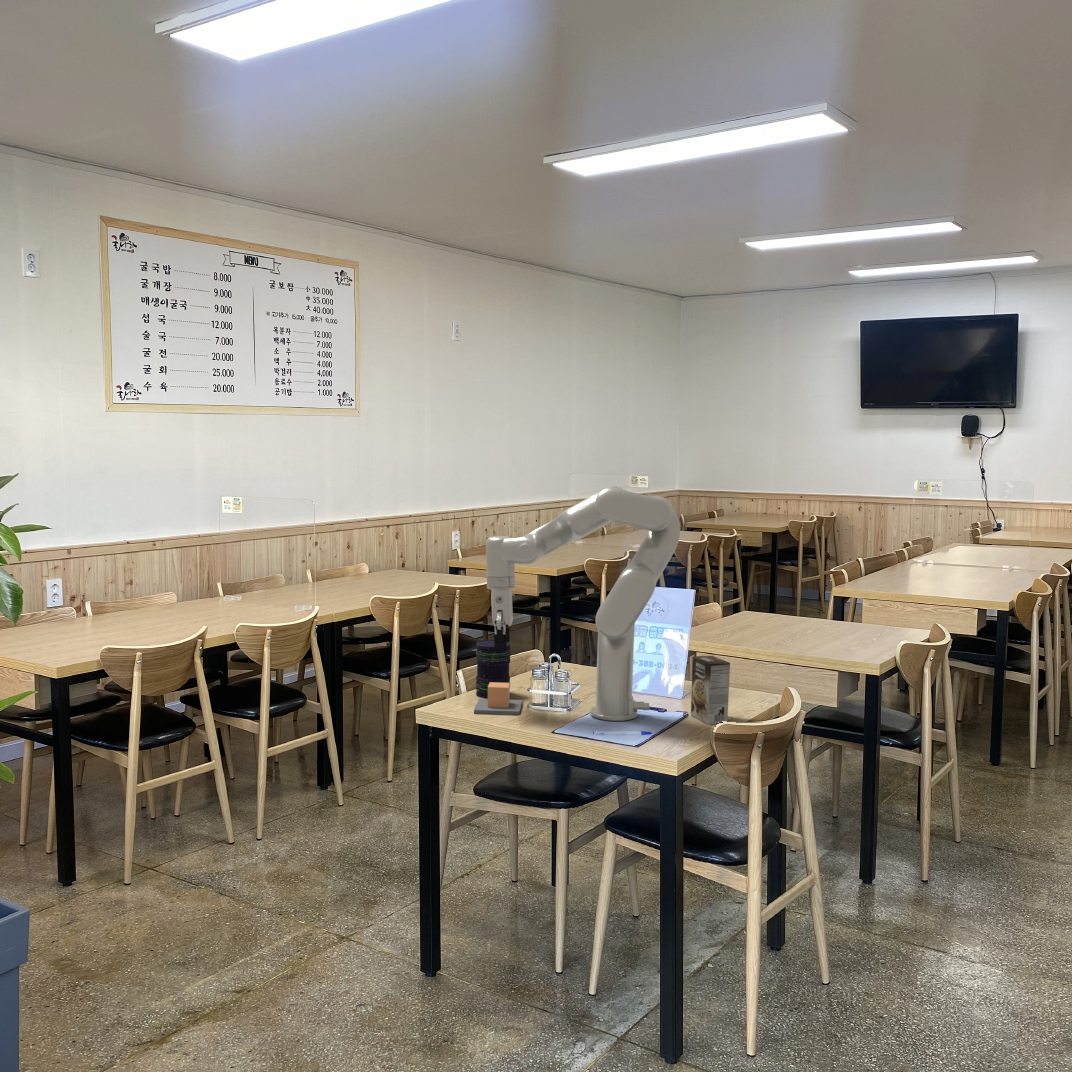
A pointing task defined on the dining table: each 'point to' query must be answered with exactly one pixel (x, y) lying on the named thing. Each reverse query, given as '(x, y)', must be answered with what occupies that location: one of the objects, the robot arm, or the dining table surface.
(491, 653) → the storage jar
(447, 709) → the dining table surface
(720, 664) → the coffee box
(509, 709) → the coaster mat
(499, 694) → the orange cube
